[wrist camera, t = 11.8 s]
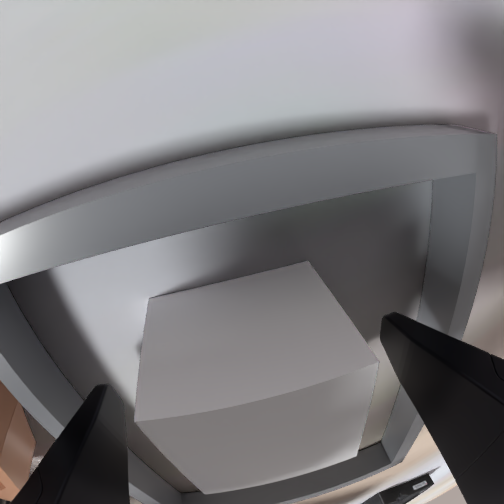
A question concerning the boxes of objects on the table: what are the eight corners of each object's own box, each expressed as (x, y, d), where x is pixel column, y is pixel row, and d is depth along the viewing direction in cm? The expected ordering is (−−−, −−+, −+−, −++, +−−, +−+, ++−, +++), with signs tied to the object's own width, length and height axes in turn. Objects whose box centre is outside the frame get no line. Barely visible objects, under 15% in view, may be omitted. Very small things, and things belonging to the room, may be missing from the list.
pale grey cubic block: (313, 364, 10) (356, 456, 7) (194, 393, 10) (204, 494, 6) (306, 258, 8) (379, 361, 5) (149, 296, 8) (134, 422, 4)
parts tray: (391, 442, 16) (401, 461, 14) (172, 498, 15) (174, 520, 13) (453, 124, 7) (497, 134, 6) (-36, 239, 6) (-69, 268, 4)
